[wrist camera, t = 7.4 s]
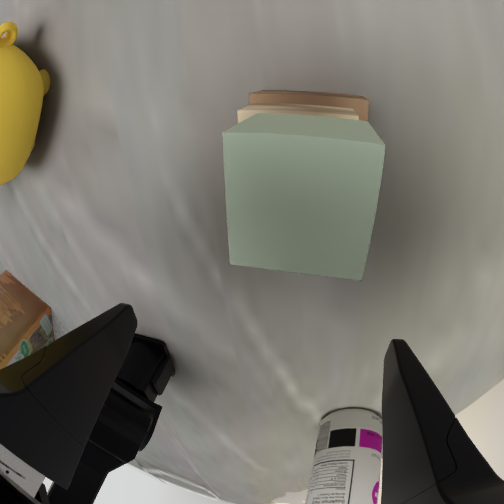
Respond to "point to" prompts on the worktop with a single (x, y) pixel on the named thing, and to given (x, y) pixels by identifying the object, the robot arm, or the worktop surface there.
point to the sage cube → (302, 193)
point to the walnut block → (313, 100)
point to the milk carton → (21, 321)
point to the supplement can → (347, 459)
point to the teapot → (18, 103)
